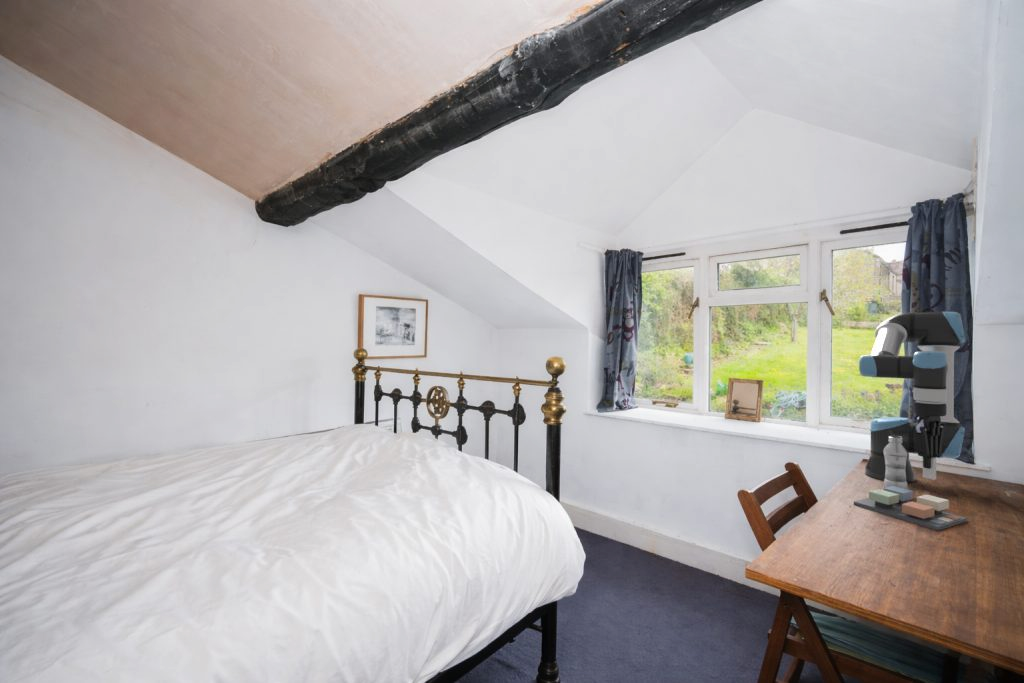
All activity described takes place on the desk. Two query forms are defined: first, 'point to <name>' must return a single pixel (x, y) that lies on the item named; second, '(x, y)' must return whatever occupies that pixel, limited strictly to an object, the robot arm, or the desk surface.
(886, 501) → the key sage
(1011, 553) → the desk surface
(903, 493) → the key slate
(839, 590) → the desk surface
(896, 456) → the plastic bottle
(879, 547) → the desk surface
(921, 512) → the key terracotta
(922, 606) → the desk surface
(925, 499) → the key cream
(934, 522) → the keypad
